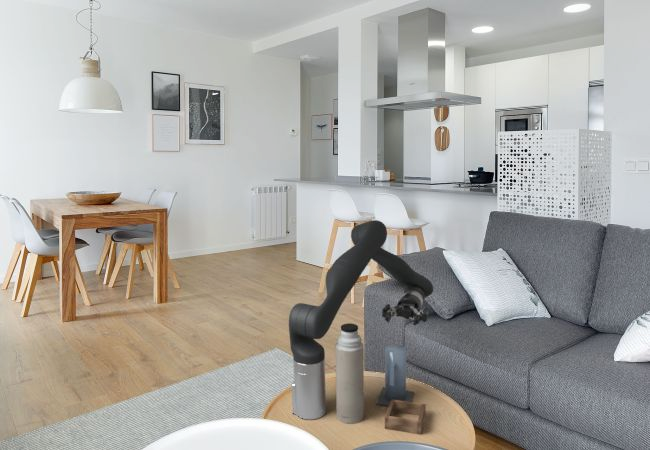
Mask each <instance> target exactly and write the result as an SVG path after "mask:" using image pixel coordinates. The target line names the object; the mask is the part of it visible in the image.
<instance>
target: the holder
mask: <svg viewBox="0 0 650 450" xmlns="http://www.w3.org/2000/svg"><path fill="white" fill-rule="evenodd" d="M426 405H427V404H426V403H422V402H421V403H420V402H414V401H412V402H408V401H401V400H394V399H391V402H390V405H389V407H387V410H386V413H385V416H384V429H386V430H390V431H397V432H403V433H410V434H415V435H421V434H422V430H423V427H424V423H425V420H426V419H425V418H426V409H427V408H426ZM394 413H396V414H397V413H398V414H404V415H411V416H415V417H416V416H418V417H417V419H410V418H407V417H406V418H404V417H399V416H394Z"/></svg>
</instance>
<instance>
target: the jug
mask: <svg viewBox="0 0 650 450" xmlns="http://www.w3.org/2000/svg"><path fill="white" fill-rule="evenodd" d="M384 360H385V361H384V377H385V378H384V387H385V398H386V399H387V400H388V401H391V399H394V400H401V401H404V400H405V399H406V390H407V347H406V346H405V345H402V344H395V343H394V344H393V343H392V344H388V345H386V346H385V348H384Z"/></svg>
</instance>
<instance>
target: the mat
mask: <svg viewBox="0 0 650 450" xmlns="http://www.w3.org/2000/svg"><path fill="white" fill-rule="evenodd" d="M414 395H415V391H413V390H407V389H406V399H405V400H404V401H408V402H413V398H414ZM390 402H391V401H388V400H387V399H386V398H385V386H384V387H382V388H381V390H380V393H379V396H378V398H377V400H376V403H375V404H376V406H382V407H387V408H388V407H389V405H390Z"/></svg>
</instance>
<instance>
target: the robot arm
mask: <svg viewBox="0 0 650 450" xmlns="http://www.w3.org/2000/svg"><path fill="white" fill-rule="evenodd" d="M350 231H351V232H350V238H351V241H352V243H353V246H352V247H350V248H349V249H347V250H346V251H345V252H344V253H342V254H341V255H340V256H339V257H338V258H337V259H336V260H334V262H333V263H332V265H331V266H330V268H329V269H328V271H327V272H326V274H325V288H326V297H325V299H324V300H323V302H322V303H321V304H320V305H314V304H313V305H312V304H307V303H303V302H300V303H296V304H295V305H294V306H292V308H291V310H290V313H289V315H288V333H289V342H290V343H289V344H290V351H291V353H292V359H293V364H292V365H293V382H292V384H291V400H292V401H291V402H292V403H291V407H292V410H291V411H292V414H293V413H294V414H293V415H295V414H296V415H295V416H297V417H298V416H299V417H298V418H300V419H302V418H303V420H316V419H320V418H321V417H323V416H324V415H326V413H327V411H326V410H327V404H326V403H327V400H326V399H327V398H326V397H327V396H326V358H325V356H326V354H325V348H324V346H323V345H321V344H320V343H319V342H318V341H316V340H320V339H322V338H324V336H326V334H327V332H328V331H330V328H331V326H332V324H333V322H334V319H335V318H336V316H337V314H338V312H339V310H340V308H342V307H341V306H342V305H343V303H344V302H345V300H346V298H347V296H348V295H349V294H350V292H351V290H353V288H354V286H355V285H356V283H357V282H358V280H359V279H360V277H361V275H362V274H363V272H364V271H365V270H366V268H367V266H368V265H369V263H371V262H370V261H371V260H372V261H374V262H375V263H376V264H378V265H379V266H380V267H382V268H383V269H384V270H385V271H387V273H389V274H390V275H391V277H392V278H393V279H394V280H395V281H396V282H397V283H399V285H400V286H402V287H404V288H403V292H404V293H403V295H401V297H400V299H399V301H398V302H397V304H396V305H395V306H393V307H392V306H391V304H390V303H389V304H386V305H385V306H383V308H382V311H381V312H382V313H381V317H382V318H384V321H385V322H387V323H389V322H390V321H391V319H399V318H403V319H405V320H413V326H417V325H419V324H420V322H421V321H422V322H423V323H426V322H427V321H428V316H429V308H427V307H425V308H423V304H424V302H425V298H428V297H429V296H431V295H432V294H433V293H434V285H433V283H432V282H431V280H429V278H427V277H425V276H424V275H422V274H420V273H418V272H417V271H415V270H414V269H413V268H412V267H411V266H410V265H409V264H408V263H407V262H406V261H405V260H404V259H403V258H402V257H400V256H398V255H396V254H394V253H392V252H390V251H388V250H386V249H384V247H383V245H384V244H385V243H386V241H387V237H388V230H387V227H386V224H385V223H383V222H382V221H380V220H373V219H372V220H369V221H365V222H362V223H358V224H356V225H355V226H354V227H353V228H352V230H350ZM422 308H423V309H422Z"/></svg>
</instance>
